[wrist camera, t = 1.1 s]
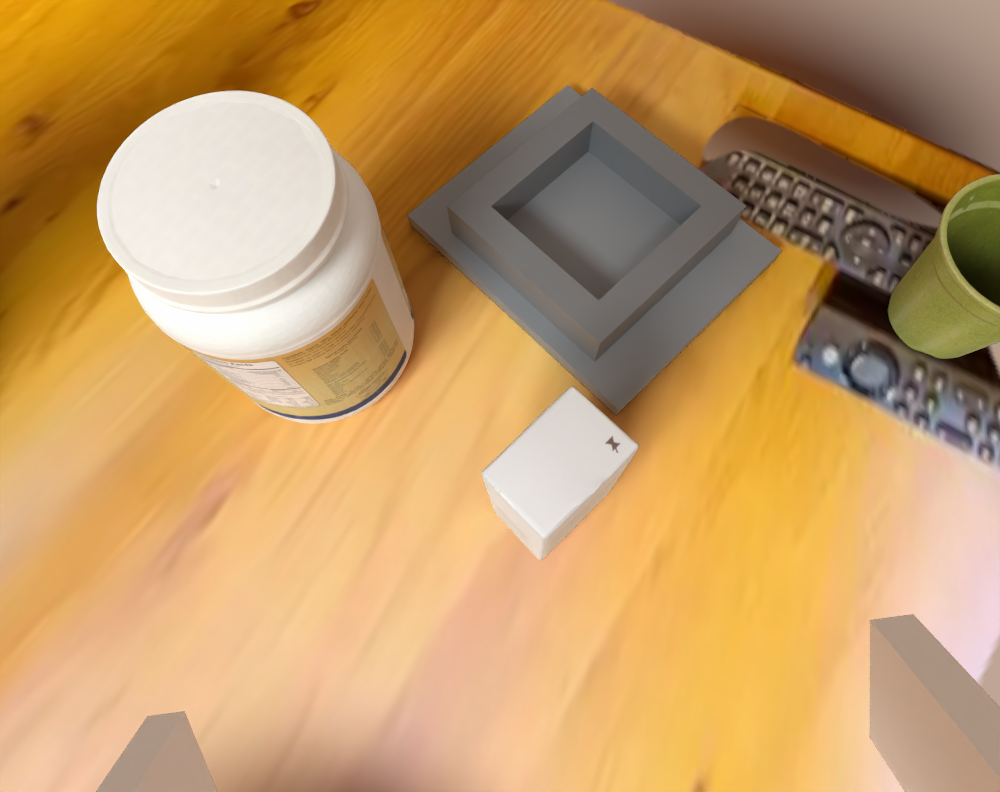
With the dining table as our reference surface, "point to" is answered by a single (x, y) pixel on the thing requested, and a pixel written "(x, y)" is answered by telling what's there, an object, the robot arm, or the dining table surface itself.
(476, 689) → the dining table surface
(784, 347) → the dining table surface
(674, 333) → the slate stand
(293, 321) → the supplement tub
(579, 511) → the skincare box
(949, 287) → the plant pot
